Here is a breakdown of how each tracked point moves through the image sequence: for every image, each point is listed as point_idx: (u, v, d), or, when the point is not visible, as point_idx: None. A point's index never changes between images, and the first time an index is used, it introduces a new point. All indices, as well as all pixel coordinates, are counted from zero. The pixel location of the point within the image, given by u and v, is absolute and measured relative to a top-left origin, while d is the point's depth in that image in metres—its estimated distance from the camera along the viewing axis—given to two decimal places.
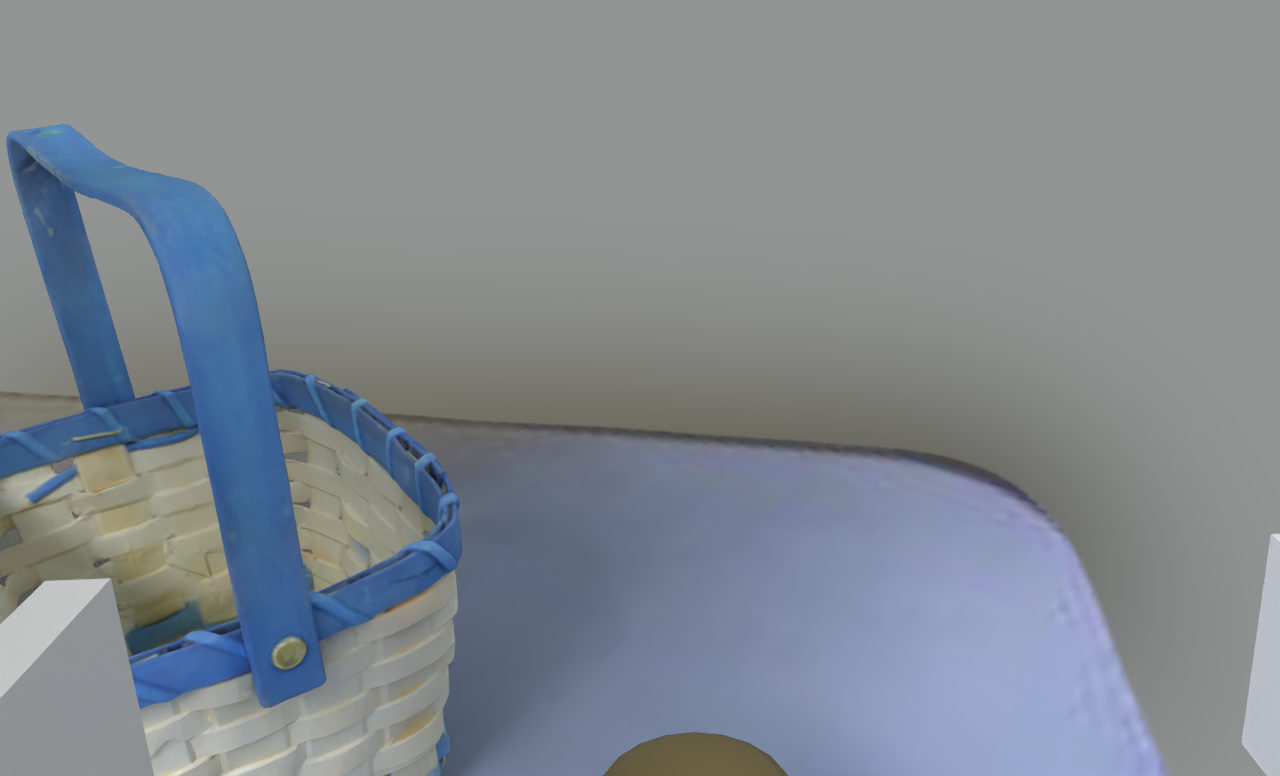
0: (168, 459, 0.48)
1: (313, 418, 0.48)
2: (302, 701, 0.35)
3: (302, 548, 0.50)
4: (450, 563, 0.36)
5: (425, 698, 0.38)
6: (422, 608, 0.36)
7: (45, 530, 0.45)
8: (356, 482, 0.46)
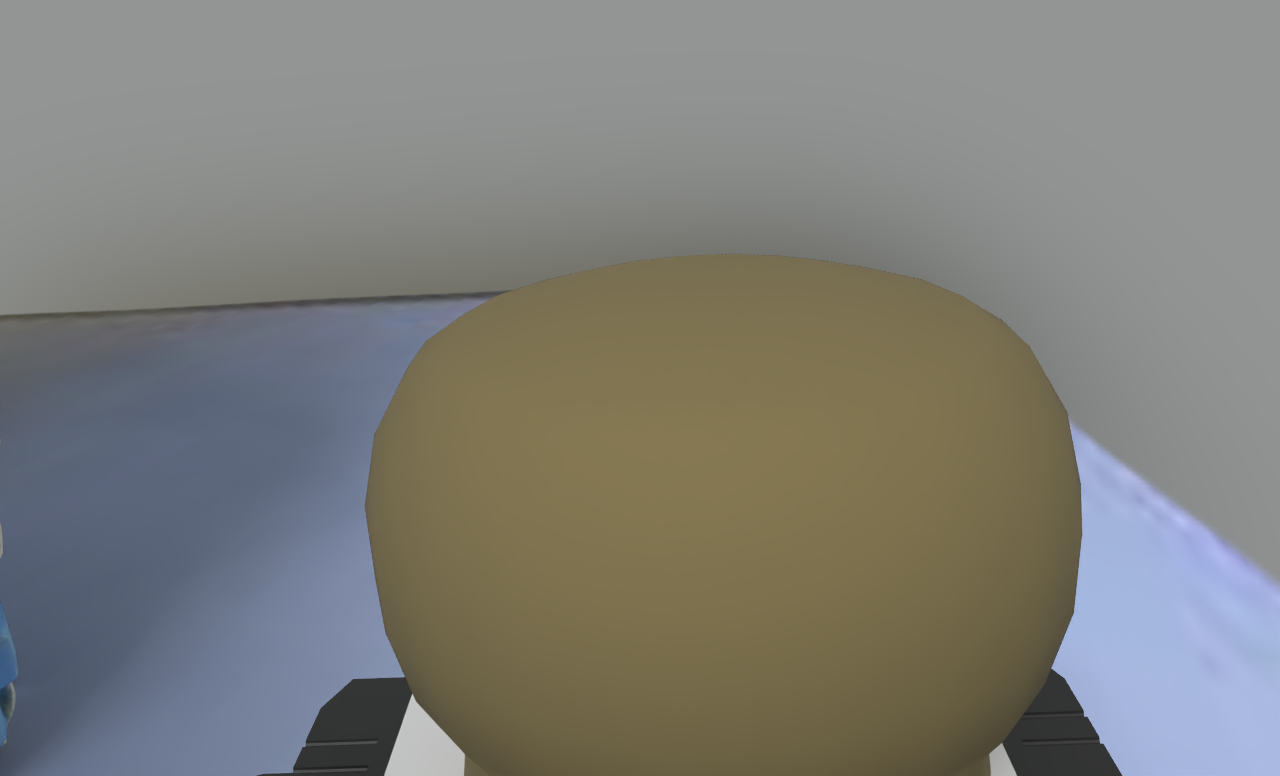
0: None
1: None
2: None
3: None
4: None
5: None
6: None
7: None
8: None
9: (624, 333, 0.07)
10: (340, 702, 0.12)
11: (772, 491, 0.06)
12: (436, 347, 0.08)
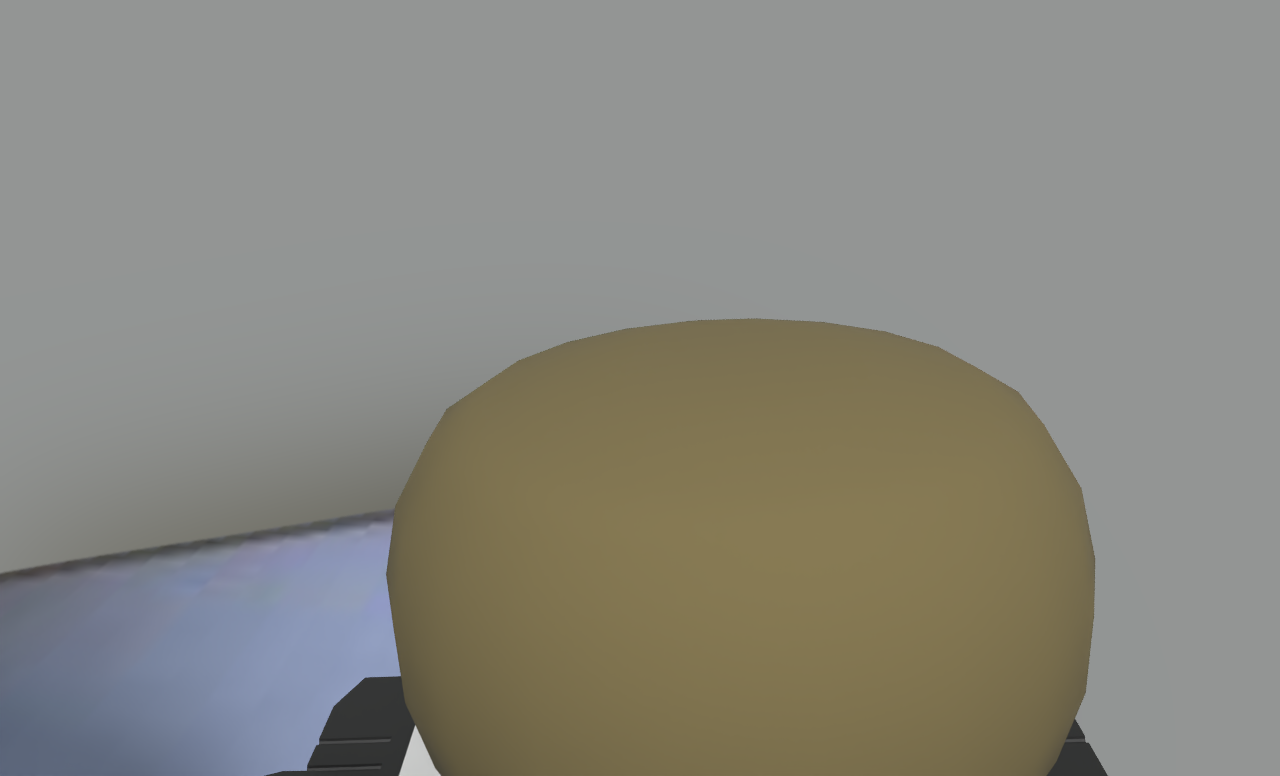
0: None
1: None
2: None
3: None
4: None
5: None
6: None
7: None
8: None
9: (636, 419, 0.07)
10: (353, 700, 0.12)
11: (779, 589, 0.06)
12: (455, 422, 0.08)
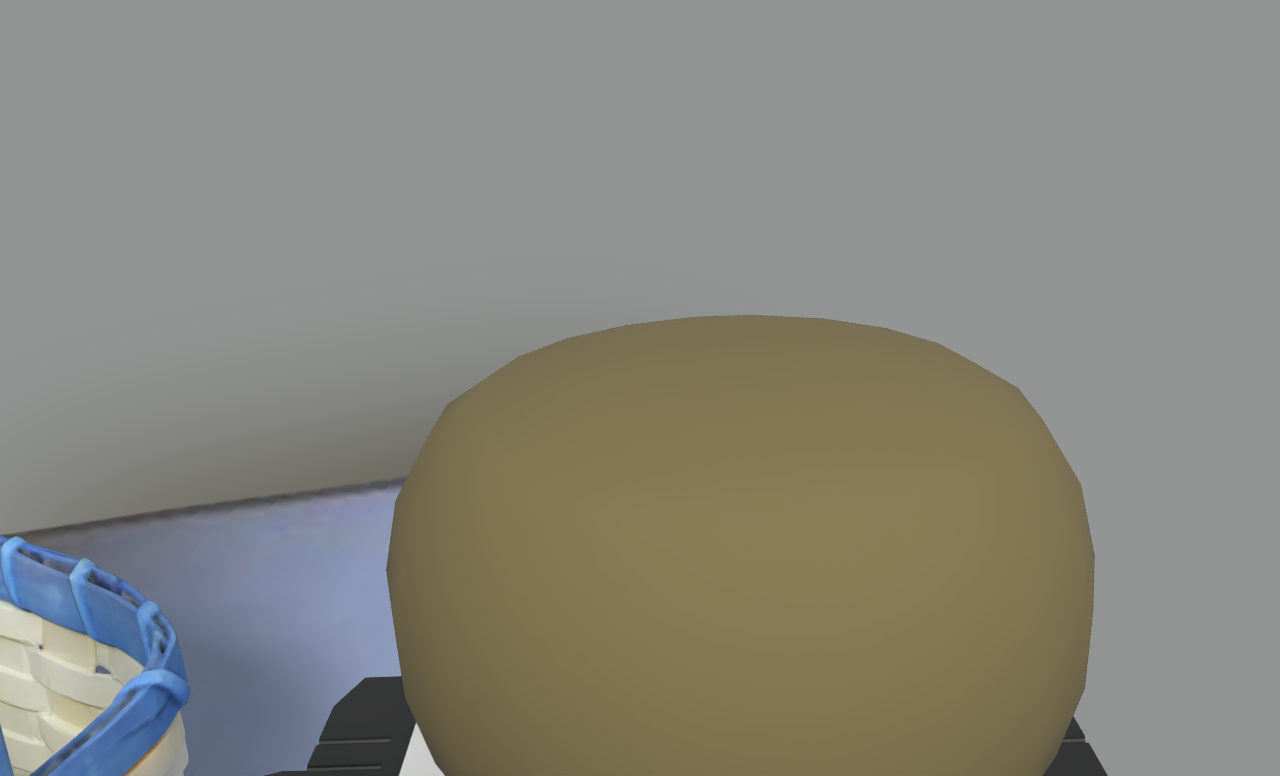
0: None
1: None
2: None
3: None
4: (186, 692, 0.26)
5: None
6: (159, 765, 0.26)
7: None
8: None
9: (636, 414, 0.07)
10: (352, 702, 0.12)
11: (779, 583, 0.06)
12: (455, 417, 0.08)
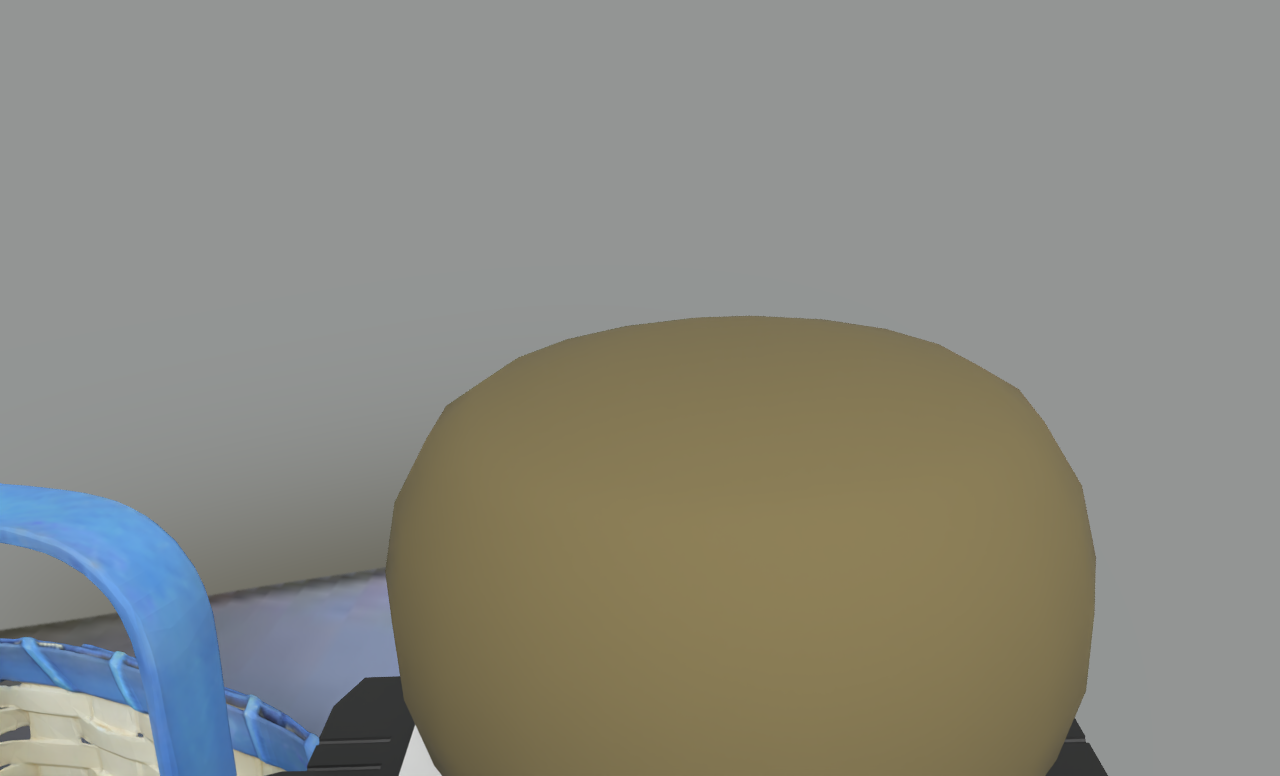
0: None
1: (36, 686, 0.41)
2: None
3: None
4: None
5: None
6: None
7: None
8: (125, 747, 0.40)
9: (636, 416, 0.07)
10: (352, 701, 0.12)
11: (780, 586, 0.06)
12: (454, 418, 0.08)
